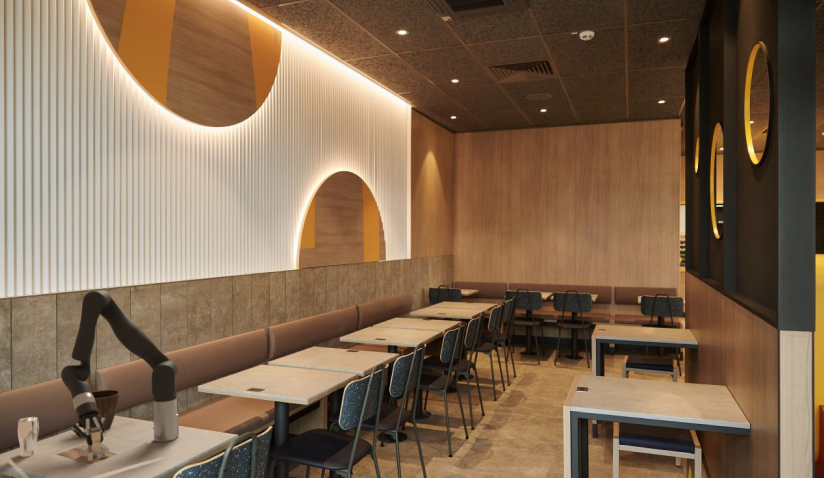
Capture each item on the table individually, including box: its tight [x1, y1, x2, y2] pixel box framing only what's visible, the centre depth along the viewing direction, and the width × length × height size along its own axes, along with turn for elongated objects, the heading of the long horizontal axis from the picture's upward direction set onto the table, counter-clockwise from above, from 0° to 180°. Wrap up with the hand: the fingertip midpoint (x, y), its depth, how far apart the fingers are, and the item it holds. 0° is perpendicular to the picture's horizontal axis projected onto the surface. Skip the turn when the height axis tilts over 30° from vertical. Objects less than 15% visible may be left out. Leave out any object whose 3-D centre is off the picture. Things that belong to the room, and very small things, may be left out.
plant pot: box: [92, 389, 121, 431], centre depth 253 cm, size 15×15×16 cm
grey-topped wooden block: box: [87, 426, 101, 454], centre depth 217 cm, size 5×3×9 cm, turn 48°
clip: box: [80, 442, 110, 462], centre depth 217 cm, size 9×7×3 cm
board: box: [56, 444, 117, 465], centre depth 220 cm, size 11×22×1 cm, turn 63°
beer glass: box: [17, 416, 40, 458], centre depth 221 cm, size 7×7×15 cm
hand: (96, 443), depth 216 cm, fingers closed on grey-topped wooden block, 3 cm apart
